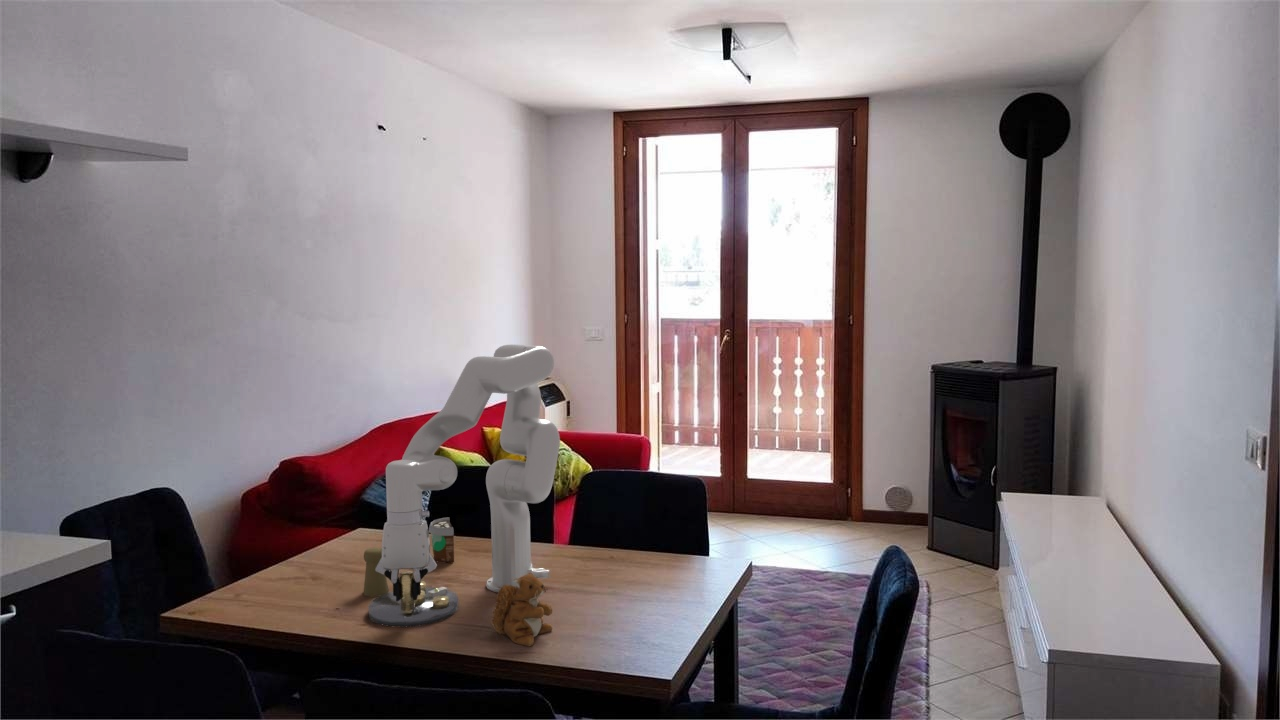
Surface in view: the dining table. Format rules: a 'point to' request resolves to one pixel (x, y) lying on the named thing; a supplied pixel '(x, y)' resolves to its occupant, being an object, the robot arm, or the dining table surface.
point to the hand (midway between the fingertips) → (407, 597)
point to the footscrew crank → (408, 592)
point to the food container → (442, 540)
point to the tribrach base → (432, 610)
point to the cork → (374, 574)
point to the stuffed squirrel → (521, 610)
